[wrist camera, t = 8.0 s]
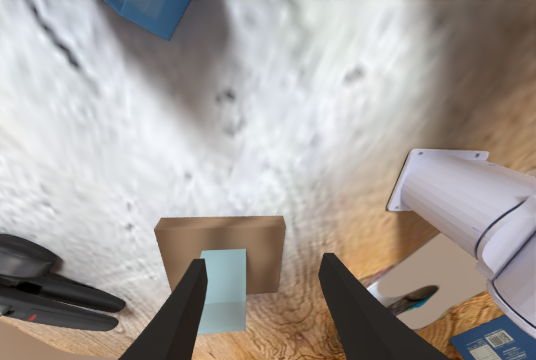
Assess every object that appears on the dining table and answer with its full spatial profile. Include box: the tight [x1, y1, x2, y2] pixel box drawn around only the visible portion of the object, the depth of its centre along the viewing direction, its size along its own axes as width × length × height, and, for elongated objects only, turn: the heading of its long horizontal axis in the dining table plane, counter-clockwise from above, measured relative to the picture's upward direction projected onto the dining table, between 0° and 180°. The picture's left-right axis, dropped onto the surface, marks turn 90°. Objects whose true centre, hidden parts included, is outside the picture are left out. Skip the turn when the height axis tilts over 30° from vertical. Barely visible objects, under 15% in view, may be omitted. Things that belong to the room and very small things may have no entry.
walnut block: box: [154, 216, 286, 294], centre depth 24 cm, size 14×12×2 cm
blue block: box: [197, 249, 246, 335], centre depth 20 cm, size 5×5×6 cm
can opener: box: [0, 234, 125, 331], centre depth 22 cm, size 18×7×6 cm, turn 35°
